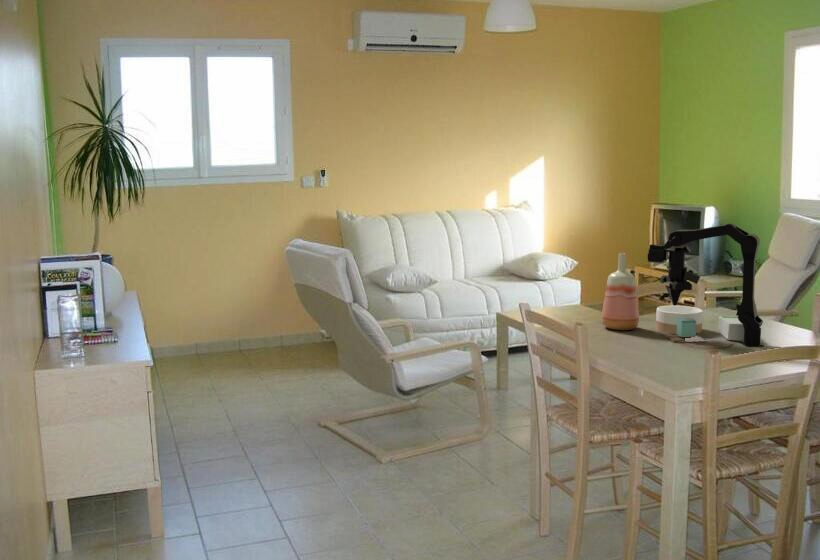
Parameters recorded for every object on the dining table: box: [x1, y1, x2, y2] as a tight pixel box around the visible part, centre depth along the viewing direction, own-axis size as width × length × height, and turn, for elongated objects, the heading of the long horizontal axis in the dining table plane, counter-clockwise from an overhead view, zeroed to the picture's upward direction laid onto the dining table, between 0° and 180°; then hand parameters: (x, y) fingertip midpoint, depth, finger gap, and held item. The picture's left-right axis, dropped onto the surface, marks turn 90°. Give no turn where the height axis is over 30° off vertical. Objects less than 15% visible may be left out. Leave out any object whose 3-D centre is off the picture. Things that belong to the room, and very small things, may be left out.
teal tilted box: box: [676, 318, 696, 337], centre depth 327 cm, size 5×5×6 cm
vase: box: [600, 252, 640, 331], centre depth 345 cm, size 14×14×30 cm
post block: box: [665, 334, 706, 343], centre depth 327 cm, size 9×12×7 cm
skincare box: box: [717, 315, 744, 342], centre depth 332 cm, size 8×7×16 cm
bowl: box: [655, 304, 704, 335], centre depth 344 cm, size 17×17×8 cm
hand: (674, 305), depth 330 cm, fingers closed
